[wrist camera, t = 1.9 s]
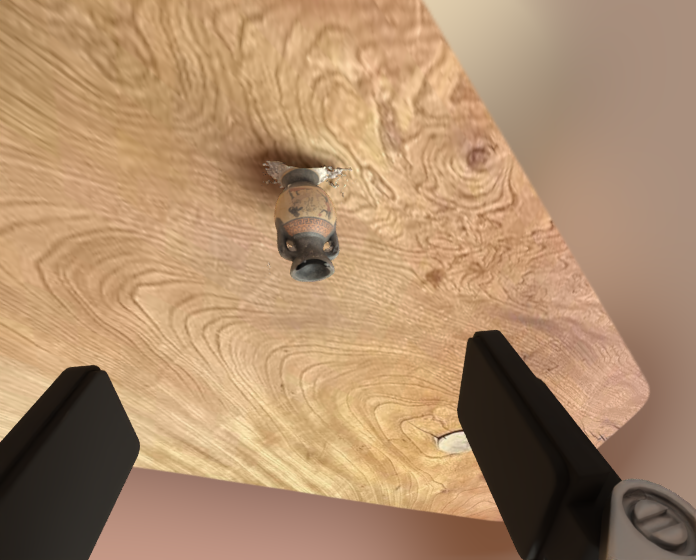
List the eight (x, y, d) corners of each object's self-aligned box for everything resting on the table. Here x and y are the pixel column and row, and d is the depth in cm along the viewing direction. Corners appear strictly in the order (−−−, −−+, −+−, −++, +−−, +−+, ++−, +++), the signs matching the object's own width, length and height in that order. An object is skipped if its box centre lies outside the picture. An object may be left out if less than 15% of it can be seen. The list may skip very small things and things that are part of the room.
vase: (344, 249, 24) (354, 295, 19) (262, 243, 23) (248, 289, 18) (355, 167, 21) (369, 194, 16) (263, 158, 21) (247, 182, 16)
